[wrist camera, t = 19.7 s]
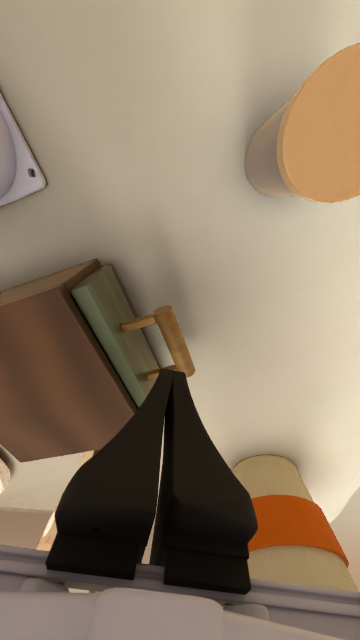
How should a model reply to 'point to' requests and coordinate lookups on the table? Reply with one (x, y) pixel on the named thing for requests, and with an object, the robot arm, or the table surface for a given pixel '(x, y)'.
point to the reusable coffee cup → (290, 528)
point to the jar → (313, 137)
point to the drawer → (128, 333)
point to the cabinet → (55, 373)
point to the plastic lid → (4, 476)
